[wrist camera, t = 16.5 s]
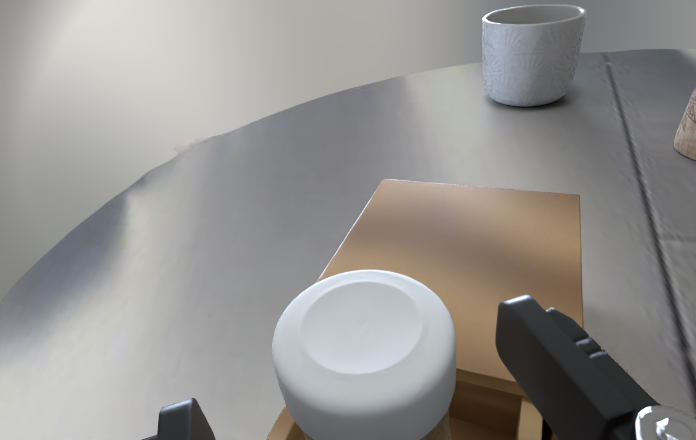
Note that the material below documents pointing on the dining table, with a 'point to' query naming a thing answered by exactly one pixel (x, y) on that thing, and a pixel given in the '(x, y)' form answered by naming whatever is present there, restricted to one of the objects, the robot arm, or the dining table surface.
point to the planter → (531, 52)
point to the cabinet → (473, 259)
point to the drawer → (463, 416)
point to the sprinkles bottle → (367, 359)
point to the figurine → (687, 130)
